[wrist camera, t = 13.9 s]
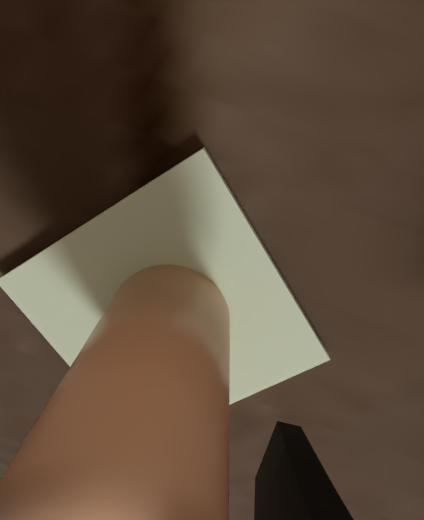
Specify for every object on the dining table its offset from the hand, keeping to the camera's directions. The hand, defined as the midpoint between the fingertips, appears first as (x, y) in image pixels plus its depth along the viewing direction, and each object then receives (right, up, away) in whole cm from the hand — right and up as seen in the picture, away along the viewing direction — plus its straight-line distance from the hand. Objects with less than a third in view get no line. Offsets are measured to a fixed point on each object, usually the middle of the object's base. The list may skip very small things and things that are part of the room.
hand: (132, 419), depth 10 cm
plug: (+1, +2, +5) cm, 5 cm away
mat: (0, +2, +5) cm, 5 cm away
